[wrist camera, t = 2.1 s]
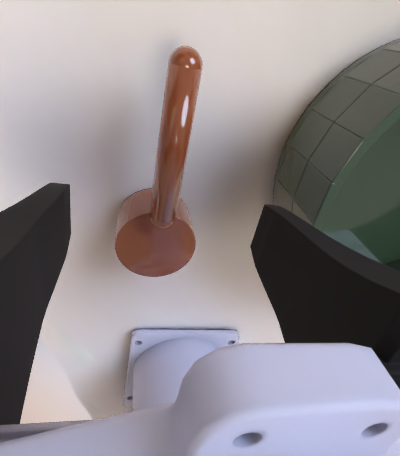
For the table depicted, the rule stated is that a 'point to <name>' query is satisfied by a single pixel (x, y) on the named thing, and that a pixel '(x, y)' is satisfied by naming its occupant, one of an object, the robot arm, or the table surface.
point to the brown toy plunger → (164, 182)
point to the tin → (350, 159)
